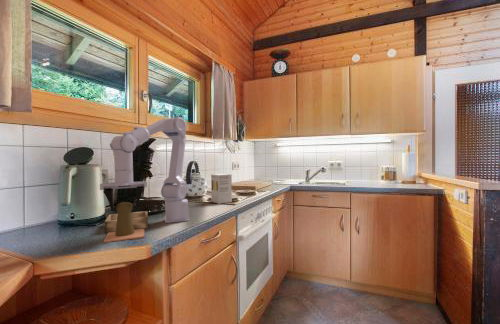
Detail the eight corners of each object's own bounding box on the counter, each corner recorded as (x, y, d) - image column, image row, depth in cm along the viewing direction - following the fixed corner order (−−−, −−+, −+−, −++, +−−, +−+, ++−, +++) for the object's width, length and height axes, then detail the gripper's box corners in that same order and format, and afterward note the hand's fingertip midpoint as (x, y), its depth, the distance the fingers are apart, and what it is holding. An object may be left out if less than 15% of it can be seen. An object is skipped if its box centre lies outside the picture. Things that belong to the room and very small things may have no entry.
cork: (127, 236, 85) (126, 204, 85) (111, 236, 86) (110, 204, 86) (137, 231, 91) (137, 201, 91) (122, 230, 92) (121, 200, 92)
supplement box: (211, 201, 153) (210, 174, 153) (224, 200, 158) (223, 173, 158) (218, 204, 145) (218, 174, 145) (232, 202, 151) (231, 174, 150)
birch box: (147, 220, 109) (147, 211, 109) (147, 227, 98) (147, 217, 98) (109, 224, 104) (109, 214, 104) (105, 232, 92) (104, 221, 92)
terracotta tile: (144, 229, 95) (144, 228, 95) (144, 237, 85) (144, 236, 85) (108, 234, 90) (108, 232, 90) (103, 242, 81) (103, 241, 81)
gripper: (97, 171, 81) (99, 213, 81) (146, 169, 86) (147, 209, 87) (101, 170, 87) (102, 209, 88) (146, 169, 93) (147, 205, 93)
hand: (125, 209), depth 88 cm, fingers open, 7 cm apart
